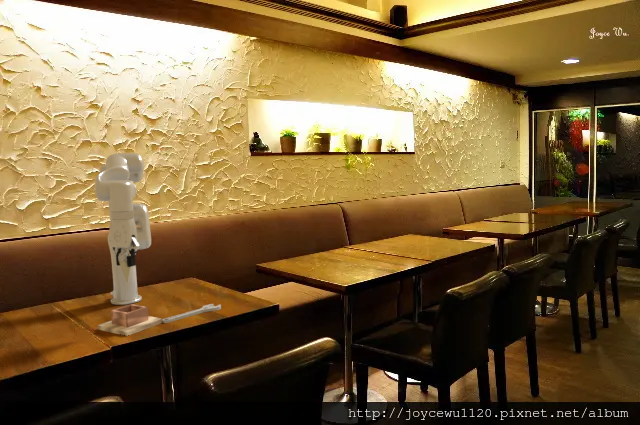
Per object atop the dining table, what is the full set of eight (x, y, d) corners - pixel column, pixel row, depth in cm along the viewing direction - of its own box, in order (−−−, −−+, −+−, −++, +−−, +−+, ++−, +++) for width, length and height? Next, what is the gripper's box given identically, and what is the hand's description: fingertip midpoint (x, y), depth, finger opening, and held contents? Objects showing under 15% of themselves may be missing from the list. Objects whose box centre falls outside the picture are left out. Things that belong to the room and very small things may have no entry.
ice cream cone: (122, 280, 188) (119, 240, 186) (136, 280, 188) (133, 240, 187) (118, 284, 183) (115, 243, 181) (132, 283, 184) (129, 242, 182)
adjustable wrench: (164, 325, 189) (164, 320, 189) (157, 321, 194) (156, 317, 194) (223, 309, 206) (222, 305, 206) (214, 306, 211) (214, 302, 210)
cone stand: (97, 329, 185) (96, 311, 184) (133, 316, 198) (132, 300, 198) (126, 336, 177) (125, 317, 176) (162, 322, 190) (161, 305, 190)
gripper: (98, 216, 184) (102, 265, 186) (129, 218, 176) (133, 269, 178) (115, 213, 191) (119, 261, 193) (147, 215, 182) (150, 265, 184)
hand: (126, 265), depth 185 cm, fingers closed on ice cream cone, 5 cm apart
